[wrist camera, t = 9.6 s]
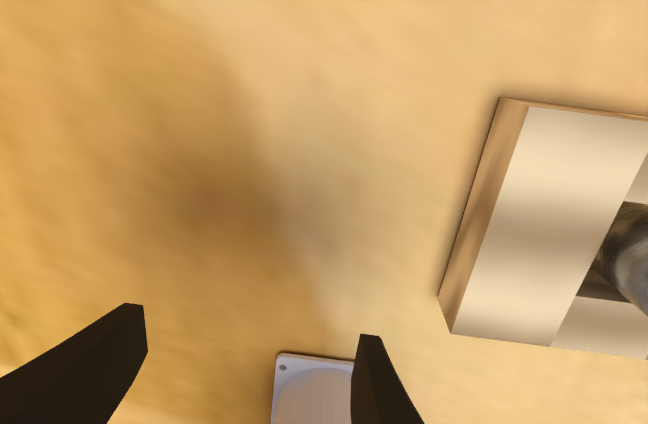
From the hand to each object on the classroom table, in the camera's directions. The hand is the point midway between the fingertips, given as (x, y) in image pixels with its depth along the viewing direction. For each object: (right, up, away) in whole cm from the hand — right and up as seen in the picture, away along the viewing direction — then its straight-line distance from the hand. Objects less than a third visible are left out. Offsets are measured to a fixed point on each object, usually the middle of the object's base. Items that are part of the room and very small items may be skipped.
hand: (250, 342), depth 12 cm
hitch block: (+18, +3, +8) cm, 20 cm away
